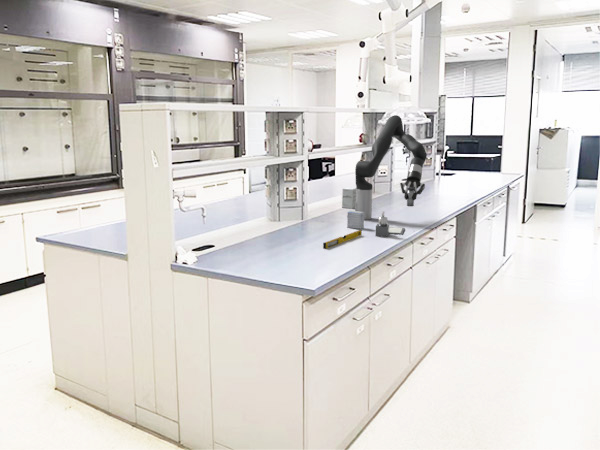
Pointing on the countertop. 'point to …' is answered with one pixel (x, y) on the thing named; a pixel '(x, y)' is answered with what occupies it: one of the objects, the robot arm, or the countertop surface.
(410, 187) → the salt shaker
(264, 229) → the countertop surface
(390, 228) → the mat
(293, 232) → the countertop surface
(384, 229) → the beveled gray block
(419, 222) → the countertop surface
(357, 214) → the medicine box
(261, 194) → the countertop surface
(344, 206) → the supplement box
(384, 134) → the robot arm
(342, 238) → the spirit level
